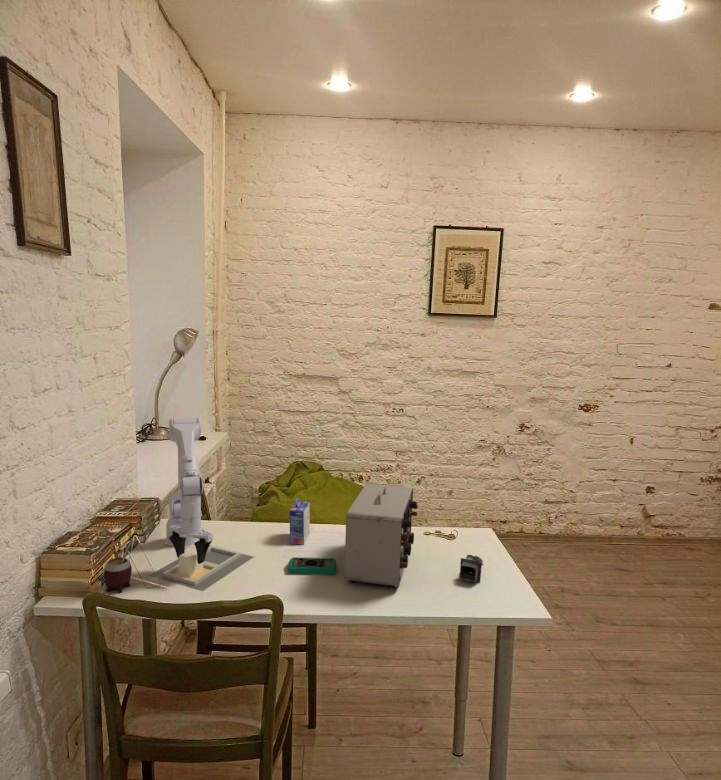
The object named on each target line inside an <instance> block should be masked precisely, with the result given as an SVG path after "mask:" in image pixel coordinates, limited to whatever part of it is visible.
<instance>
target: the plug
mask: <svg viewBox="0 0 721 780" xmlns="http://www.w3.org/2000/svg"><path fill="white" fill-rule="evenodd" d="M178 559H179V575H180V576H184V577H187V578H191V577H193V576H194V575H196V574H197V573H199V572H201V571H202V570H203V563H201V564H198V562H197V551H196V548H191V549H189V550H187V551H186V552H185V553H183V554H182V555H180V556H179V558H178Z"/></svg>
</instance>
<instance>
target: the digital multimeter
mask: <svg viewBox="0 0 721 780" xmlns="http://www.w3.org/2000/svg"><path fill="white" fill-rule="evenodd" d="M287 572H288V574H289V575H321V576H322V575H325V576H328V575H329V576H334V575H336V572H337V560H336V559H335V558H334V557H328V558H327V557H325V558H324V557H323V558H322V557H291V558H290V559H289V561H288V562H287Z"/></svg>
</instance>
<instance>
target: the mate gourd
mask: <svg viewBox="0 0 721 780" xmlns="http://www.w3.org/2000/svg"><path fill="white" fill-rule="evenodd" d="M137 540H138V538H135V539H134V540H132V541H131V542H129V543H128V544H127V545H126V546H125V551H124V553H123V557H114V558H112V559H109V561H107V562H106V564H105V566H104V570H103V578H104V584H105V587H106V589H105V591H106V593H109V592H111V591H112V592H113V591H116V590H117V592H118V594H122V593H123V590H122V589H124V588H129V587H130V586H131V583H130V581H131V578H132V570H133V569H132V564H131V562H130V561H129V559H128V558H126V555H127V554H128V551H129V549H130V548H131V545H133V544H134V543H135V542H136V541H137Z"/></svg>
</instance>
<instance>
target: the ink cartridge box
mask: <svg viewBox="0 0 721 780" xmlns="http://www.w3.org/2000/svg"><path fill="white" fill-rule="evenodd" d="M310 507H311V505H310V501H300V500H299V499H298V497H296V498H295V500H294V504H293V505H292V507H291V508H290V509H289V544H293V545H305V543H306V542H307V539H308V538H309V536H310V532H311V531H310V529H311V528H310V527H311V526H310V524H311V523H310V522H311V521H310V517H311V516H310V513H311V512H310V511H311V509H310Z"/></svg>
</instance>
